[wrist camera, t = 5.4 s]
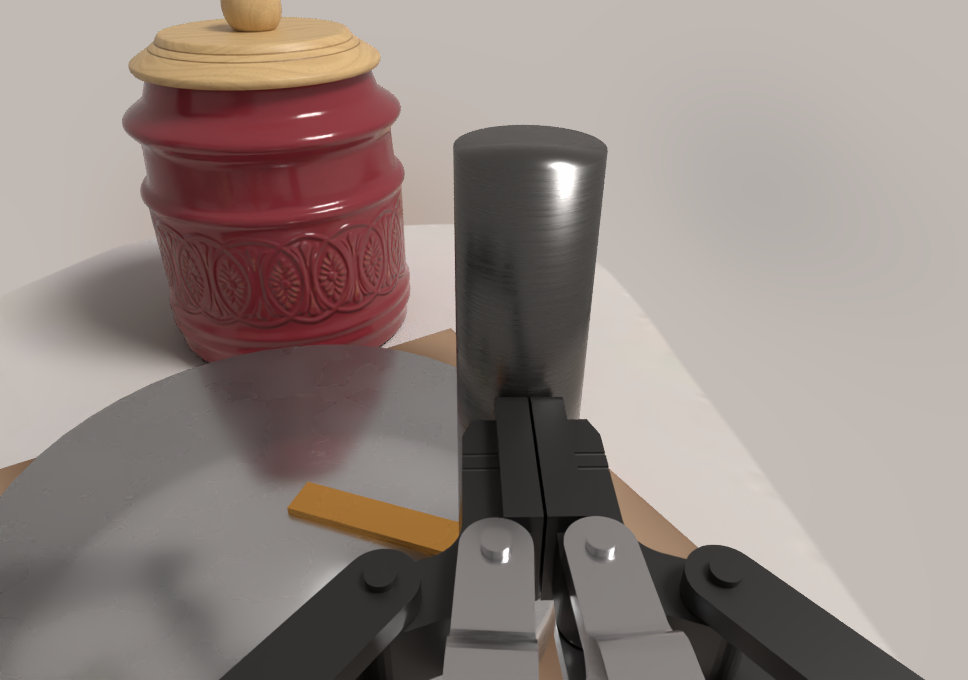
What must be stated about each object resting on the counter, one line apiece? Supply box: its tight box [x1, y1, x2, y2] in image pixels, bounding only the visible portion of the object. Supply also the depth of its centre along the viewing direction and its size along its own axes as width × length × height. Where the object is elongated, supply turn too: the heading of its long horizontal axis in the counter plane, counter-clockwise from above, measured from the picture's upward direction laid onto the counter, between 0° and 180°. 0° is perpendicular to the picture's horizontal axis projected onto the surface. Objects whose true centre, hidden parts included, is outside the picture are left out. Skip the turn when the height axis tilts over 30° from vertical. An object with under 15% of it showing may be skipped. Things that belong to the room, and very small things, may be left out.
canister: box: [122, 0, 410, 363], centre depth 35 cm, size 13×13×18 cm
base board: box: [0, 329, 698, 680], centre depth 24 cm, size 23×19×2 cm
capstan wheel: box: [0, 125, 607, 680], centre depth 19 cm, size 18×18×14 cm
